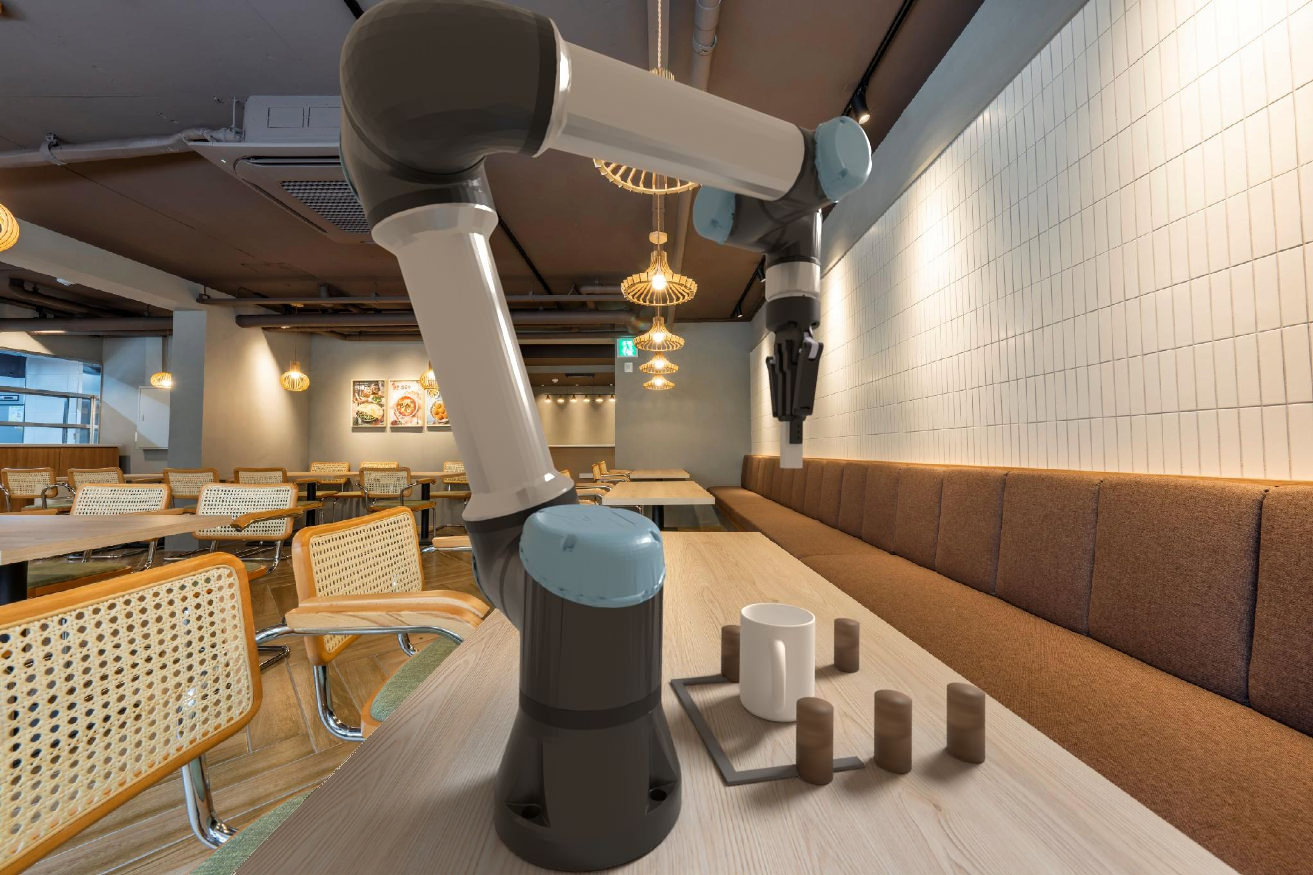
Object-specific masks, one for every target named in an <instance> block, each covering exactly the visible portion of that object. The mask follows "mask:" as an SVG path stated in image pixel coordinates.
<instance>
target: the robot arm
mask: <svg viewBox="0 0 1313 875" xmlns="http://www.w3.org/2000/svg"><path fill="white" fill-rule="evenodd" d="M339 83H340V129H339V139H338V153H339V154H338V155H339V159H340V160H339V161H340V165H341V168H342V172H343V175H344V179H345V181H346V183H347V185H348V187H349V189H350V190H351V193H352V194H353V196H354V197H355V199H356V200H357V202H358V203H359V205H360V206H361V207H362V209H363V213H364V215H365V218H366V219H365V220H366V222H367V224H368V227H369V231H370V234H371V238H372V239H373V241H374V242H375V243H376V244H377V245H379V246H380V247H382V248H384V249H385V250H387V251H388V252H390V253H391V254H393V255H394V256H396V258H397V259H396V260H397V261H398V265H399V268H400V270H401V274H402V277H403V281H404V283H405V287H406V290H407V293H408V296H409V300H410V302H411V303H410V304H411V305H412V308H413V312H414V315H415V318H416V321H417V324H418V327H419V331H420V334H421V337H422V340H423V344H424V348H425V350H426V353H427V356H428V359H429V362H430V366H431V368H432V373H433V374H434V375H433V376H434V379H435V381H436V385H437V388H438V391H439V394H440V397H441V400H442V403H443V407H444V410H445V413H446V416H447V419H448V422H449V425H450V429H451V432H452V436H453V438H454V442H455V445H456V447H457V450H458V454H459V458H460V460H461V463H462V466H463V470H464V473H465V475H466V480H467V482H468V485H469V488H470V492H471V495H470V499H469V501H468V502H467V504H466V506H465V508H464V509H463V511H462V514H461V517H462V520H463V523H464V527H465V529H466V532H467V536H468V540H469V542H470V546H471V560H470V561H471V565H472V568H471V569H472V574H473V578H474V580H475V583H476V585H477V587H478V589H479V590H480V592H481V594H482V595H483V597H484V598H485V599H486V600H487V601H488V602H489V603H490V604H491V605H492V606H493V607H495V608H496V609H497V610H499V611H500V613H501V614H502V615H503V616H504V617H505V618H507V620H508V621H509V622H510V623H511V624H512V625H513V626H514V627H515V629H516V630H517V631H518V632H519V664H518V665H519V667H518V669H519V670H518V672H519V674H518V678H519V680H518V686H519V688H518V709H517V712H516V716H515V718H514V721H513V723H512V724H513V725H512V727H511V731H510V733H509V737H508V739H507V742H506V745H505V748H504V751H503V754H502V758H501V761H500V764H499V767H498V770H497V772H496V775H495V780H494V786H493V824H494V826H495V830H496V832H497V834H498V835H499V838H500V840H501V841H502V842H503V843H504V844H505V845H506V846H507V848H509V850H510V851H512V852H513V853H515V854H516V855H517V856H519V857H521V858H522V859H524V860H526V861H528V862H531V863H533V864H534V865H538V866H542V867H545V868H549V869H552V870H557V871H558V870H559V871H567V872H568V871H570V872H582V871H583V872H585V871H595V870H602V869H608V868H612V867H615V866H618V865H623V864H625V863H628V862H630V861H632V860H634V859H637V858H639V857H641V856H642V855H644V854H646V853H648V852H649V851H651V850H652V849H654V848H655V847H656V846H658V845H659V844H661V843H662V841H663V840H664V839H665V838H667V836H668V835H669V834H670V832H672V830H673V828H674V827H675V825H676V823H677V821H678V818H679V816H680V814H681V809H682V800H683V799H682V797H683V796H682V794H683V792H682V791H683V790H682V788H683V787H682V786H683V785H682V784H683V783H682V782H683V778H682V777H683V776H682V768H681V763H680V760H679V757H678V754H677V753H678V752H677V750H676V746H675V743H674V740H673V737H672V733H671V731H670V727H669V723H668V720H667V716H666V714H665V710H664V707H663V702H662V700H663V699H662V691H663V690H662V689H663V688H662V687H663V686H662V683H663V682H662V680H663V679H662V678H663V632H664V631H663V630H664V589H665V588H664V585H665V584H664V581H665V580H666V575H667V569H666V563H665V554H664V552H665V551H664V544H663V543H664V542H663V536H662V533H661V531H660V528H659V527H658V526H657V525H656V523H654V521H653V520H651V519H650V518H648V517H647V516H644V515H643V514H640V513H638V512H635V511H633V510H629V509H626V508H619V507H618V508H615V507H612V508H611V507H610V506H607V505H600V504H585V503H583V504H582V503H581V502H580V498H579V495H578V492H577V488H576V485H575V484H576V483H575V481H574V480H573V478H571V477H570V476H568V475H565V474H564V473H561V472H560V471H558V470H557V469H556V468H555V465H554V461H553V458H552V455H551V452H550V447H549V443H548V440H547V438H546V434H545V430H544V427H543V424H542V420H541V417H540V414H539V410H538V407H537V404H536V399H535V397H534V393H533V389H532V386H531V382H530V378H529V376H528V372H527V369H526V365H525V362H524V358H523V356H522V352H521V348H520V345H519V341H518V338H517V334H516V331H515V328H514V323H513V320H512V317H511V314H510V310H509V307H508V304H507V300H506V297H505V293H504V289H503V286H502V283H501V279H500V276H499V274H498V269H497V265H496V263H495V259H494V255H493V253H492V249H491V245H490V242H489V240H490V237H491V235H492V233H493V232H494V230H495V229H496V226H497V225H498V223H499V217H498V213H497V210H496V206H495V203H494V199H493V195H492V192H491V189H490V185H489V182H488V178H487V174H486V170H485V164H484V163H485V161H486V159H487V157H488V156H489V155H491V154H497V153H511V154H518V155H521V156H526V157H530V158H537V157H539V156H540V155H541V154H543V153H544V152H545V151H547V150H548V149H554V150H559V151H561V152H565V153H570V154H574V155H578V156H581V157H586V158H590V159H595V160H598V161H599V160H600V161H602V162H607V163H611V164H616V165H619V166H623V167H628V168H632V169H636V170H639V171H643V172H644V171H645V172H648V173H650V174H651V173H652V174H656V175H660V176H665V177H667V178H668V177H669V178H673V179H676V180H681V181H685V182H688V183H689V182H690V183H693V184H696V185H701V187H700V188H699V190H698V192H697V194H696V197H695V199H694V203H693V209H692V213H693V214H692V223H693V226H694V229H695V231H696V233H697V234H698V235H699V236H701V237H702V238H705V239H708V240H711V241H713V242H716V243H717V244H718V245H726V246H730V247H733V248H738V249H742V250H745V251H750V252H754V253H757V254H761V255H765V296H764V297H765V300H766V301H767V304H766V305H765V323H764V324H765V328H766V329H767V330H766V331H769V332H771V333H773V334H774V336H775V337H774V341H773V353H772V356H770V355H769V356H768V355H767V356H766V357H765V360H764V361H765V365H766V368H767V374H768V381H769V382H768V384H769V394H770V402H771V403H770V405H771V413H772V415H771V416H772V417H773V419H774V418H775V419H777V421H778V422H780V426H779V428H780V430H779V431H780V435H779V436H780V437H779V439H780V440H779V442H780V443H779V445H780V446H779V448H780V449H779V452H780V453H779V468H780V469H803V461H804V457H803V455H804V450H803V449H804V446H803V445H804V422H806V419H807V417H809V416H813V414H814V408H815V400H816V391H817V384H818V377H819V367H820V361H821V358H822V354H823V351H824V348H825V347H824V346H825V345H824V343H823V342H819V341H815V340H814V333H813V331H815V330H816V329H818V328H819V327H820V325H821V302H820V301H819V298H820V296H821V286H822V280H821V253H822V252H821V249H822V246H821V245H822V243H821V242H822V224H823V214H822V209H823V208H825V207H827V206H829V205H832V204H835V203H839V202H840V201H841V200H842V199H843V198H845V197H847V196H848V195H850V194H852V193H854V192H856V191H858V190H859V189H860V188H861V187H862V186H863V185H864V184H865V183H866V182H867V180H868V178H869V176H870V173H871V171H872V158H871V157H872V156H871V155H872V148H871V145H870V141H869V139H868V136H867V134H866V132H865V131H864V129H863V128H862V126H861V125H860V124H859V123H858V122H857V121H856V120H855V119H853V118H851V117H849V116H846V115H841V116H835V117H834V118H832V119H830V120H828V121H826V122H825V121H823V122H821V123H819V124H818V125H817V127H816V128H815V129H808V128H805V127H802V126H800V125H795V124H794V123H791V122H788V121H785V119H784V120H783V119H781V118H778V117H775V116H772V115H769V114H767V113H764V112H762V111H761V112H760V111H758V110H755V109H753V108H750V107H749V106H745V105H742V104H739V103H736V102H734V101H731V100H729V99H725V98H724V97H721V96H717V95H715V94H711V93H710V92H707V91H704V90H702V89H699V88H696V87H693V86H690V85H687V84H684V83H681V82H679V81H677V80H675V79H674V80H673V79H670V78H668V77H665V76H662V75H661V74H657V73H654V72H651V71H649V70H646V69H643V68H640V67H637V66H635V65H632V64H630V63H628V62H624V61H621V60H619V59H616V58H613V57H610V56H607V55H605V54H602V53H599V52H596V51H594V50H591V49H588V48H585V47H583V46H580V45H577V44H574V43H571V42H569V41H566V40H564V38H563V37H562V36H561V33H560V31H559V29H558V27H557V24H556V23H555V22H554V20H552V19H551V18H550V17H547V16H545V15H541V14H540V13H536V12H534V11H532V10H529V9H526V8H523V7H519V6H517V5H513V4H509V3H507V2H503V1H500V0H383V1H380V2H379V3H377V4H375V5H373V6H371V7H370V8H368V9H367V10H366V11H364V13H362V15H361V16H359V18H358V19H357V20H356V21H355V23H354V24H353V25H352V26H351V28H350V30H349V32H348V34H347V36H346V37H345V40H344V43H343V46H342V48H341V55H340V61H339Z"/></svg>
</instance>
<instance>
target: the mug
mask: <svg viewBox="0 0 1313 875" xmlns="http://www.w3.org/2000/svg"><path fill="white" fill-rule="evenodd" d="M739 615H740V616H739V617H740V618H739V619H740V620H739V621H740V625H739V626H740V682H739V699H740V701H741V704H742V705H743V707H744V708H745V709H746V710H747V711H748V712H749V713H750V714H752V715H753V716H756V717H758V718H760V719H764V720H767V721H772V722H776V723H777V722H778V723H792V722H796V702H797V700H798V699H800V698H803V697H815V680H816V679H815V676H816V675H815V671H816V670H815V669H816V668H815V666H816V664H815V662H816V660H815V659H816V617H815V615H814V614H813V613H812V612H811V611H809V610H807V609H805V608H802V607H799V606H795V605H790V604H785V603H775V602H770V603H769V602H762V603H753V604H747V606H743V607H742V608H741V610H740V614H739Z"/></svg>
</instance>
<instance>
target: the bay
mask: <svg viewBox="0 0 1313 875" xmlns="http://www.w3.org/2000/svg"><path fill="white" fill-rule="evenodd" d="M723 682H724V683H726V682H728V679H727V678H724V677H723V676H722V675H721V674H720V675H719V674H718V675H707V676H693V677H685V678H683V677H681V678H671V679H670V683H671V685H672V687H673V688H674V690H675V692H676V694H677V696H678V699H680V701H681V703H682V704H683V707H684V708H685V710H686V713H687V715H689V717H690V719H691V721H692V724H693V725H694V726H695V728H696V730H697V732H698V734H699V736H700V738H701V739H702V741H703V743H704V745H705V746H706V748H707V751H708V752H709V754H710V756H711V757H712V759H713V761H714V763H715V765H716V766H717V768H718V770H719V772H720V773H721V775H722V778H723V779H724V781H725V782H726V784H727V786H732V785H739V784H740V785H741V784H748V783H749V784H750V783H756V782H763V781H772V780H777V779H779V780H780V779H786V778H794V777H799V776H798V771H797V770H796V763H793V764H785V765H779V766H778V765H777V766H769V767H762V768H755V769H754V768H753V769H748V770H747V769H746V770H739V771H738V770H737V771H736V769H735V767H734V766H733V764H732V762H731V761H730V759H729V758H728V756H727V754H726V752H725V750H724V749H723V747H722V746H721V744H720V743H719V741H718V739H717V738H716V736H715V734H714V732H713V730H712V729H711V727H710V726H709V724H708V722H707V721H706V719H705V717H704V715H703V714H702V712H701V711H700V709H699V708H698V706H697V705H696V702H695V701H694V699H693V698H692V696H691V694H690V693H689V691H688V689H687V687H686V686H691V685H701V684H712V683H713V684H715V683H723ZM865 765H866V764H865V762H864V761H862V760H861V759H860V757H858V755H855V756H849V757H848V756H847V757H841V758H833V772H838V771H845V770H853V769H861V768H865Z"/></svg>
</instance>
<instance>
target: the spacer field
mask: <svg viewBox="0 0 1313 875" xmlns="http://www.w3.org/2000/svg"><path fill="white" fill-rule="evenodd" d="M720 630H721V632H720V633H721V634H720V635H721V637H720V640H721V641H720V647H721V648H720V675H722V676H723V677H724V678H727V679H728V681H727V682H729V683H740V625H737V624H727V625H723V626H721V628H720ZM833 666H834V667H833V668H835V669H836V670H839V671H841V672H846V673H856V671H857V672H859V671H858V670H860V622H859V621H858V620H856V619H853V618H846V617H838V618H835V619H834V620H833ZM873 695H874V696H873V698H874V700H873V702H874V703H873V704H874V705H873V709H874V710H873V711H874V712H873V719H874V720H873V760H874V761H873V762H874V763H875V764H876V765H877V766H879V767H880V768H881V769H883V770H885V771H888V772H890V773H894V774H907V773H909V772H911V770H912V768H913V762H912V761H913V748H912V747H913V700H912V698H911V697H910V696H908V695H907V694H905V693H903V692H901V691H897V690H892V689H878V690H876V691H875V692H874V694H873ZM834 711H835V708H834V706H833V704H832V703H830V701H827V700H825V699H823V698H820V697H815V696H814V697H803V698H800V699H798V700H797V702H796V721H795V764H796V770H797V771H798V776H797V777H799V778H800V779H801V780H803V781H804V782H807V783H809V784H813V785H818V786H820V785H827V784H830V783H831V782H832V781H833V780H834V771H833V759H834V720H835V718H834V717H835V716H834V713H835V712H834ZM946 751H947V753H949V755H951V756H953V757H954V758H956V759H957V760H959V761H964V762H965V763H970V764H979V763H983V762H985V761H986V693H985V691H984V690H982V689H981V688H979V687H978V686H975V685H972V684H969V683H963V682H950V683H948V684H946Z"/></svg>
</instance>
